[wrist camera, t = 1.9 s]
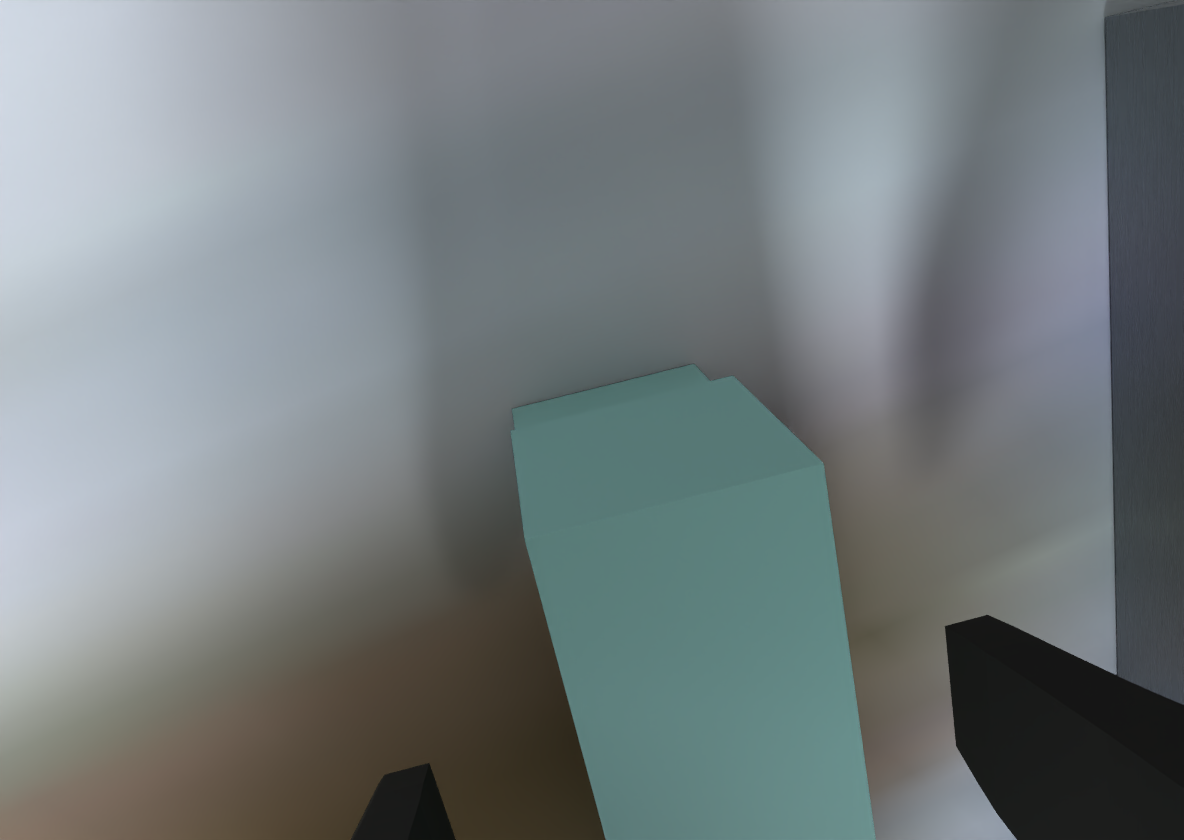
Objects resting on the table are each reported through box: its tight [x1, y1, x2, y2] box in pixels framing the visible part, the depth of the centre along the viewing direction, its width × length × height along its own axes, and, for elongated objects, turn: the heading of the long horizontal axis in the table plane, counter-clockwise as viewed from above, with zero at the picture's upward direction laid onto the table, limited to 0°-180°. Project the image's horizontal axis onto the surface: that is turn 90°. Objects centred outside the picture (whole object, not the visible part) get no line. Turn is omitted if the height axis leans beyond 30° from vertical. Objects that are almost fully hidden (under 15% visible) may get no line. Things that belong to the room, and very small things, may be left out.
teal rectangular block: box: [511, 364, 876, 840], centre depth 12 cm, size 10×3×5 cm, turn 12°
